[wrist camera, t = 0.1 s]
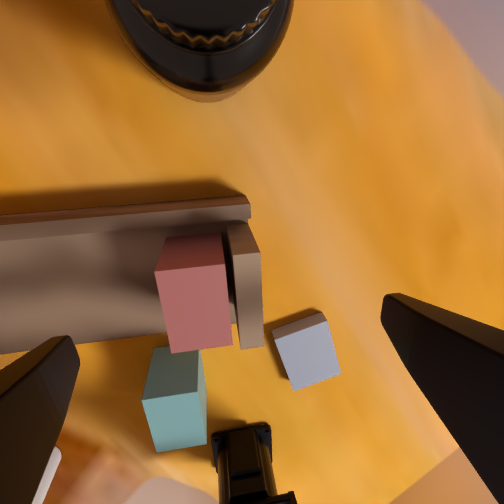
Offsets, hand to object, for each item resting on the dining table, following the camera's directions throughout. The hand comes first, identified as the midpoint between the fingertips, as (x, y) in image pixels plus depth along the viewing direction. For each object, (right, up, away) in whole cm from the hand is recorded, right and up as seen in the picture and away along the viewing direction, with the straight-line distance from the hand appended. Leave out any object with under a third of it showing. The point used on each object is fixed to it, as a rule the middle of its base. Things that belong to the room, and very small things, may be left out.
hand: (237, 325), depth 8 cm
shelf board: (-12, 0, +14) cm, 18 cm away
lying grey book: (+6, -7, +21) cm, 23 cm away
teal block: (-6, -9, +19) cm, 22 cm away
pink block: (-4, +1, +14) cm, 15 cm away
